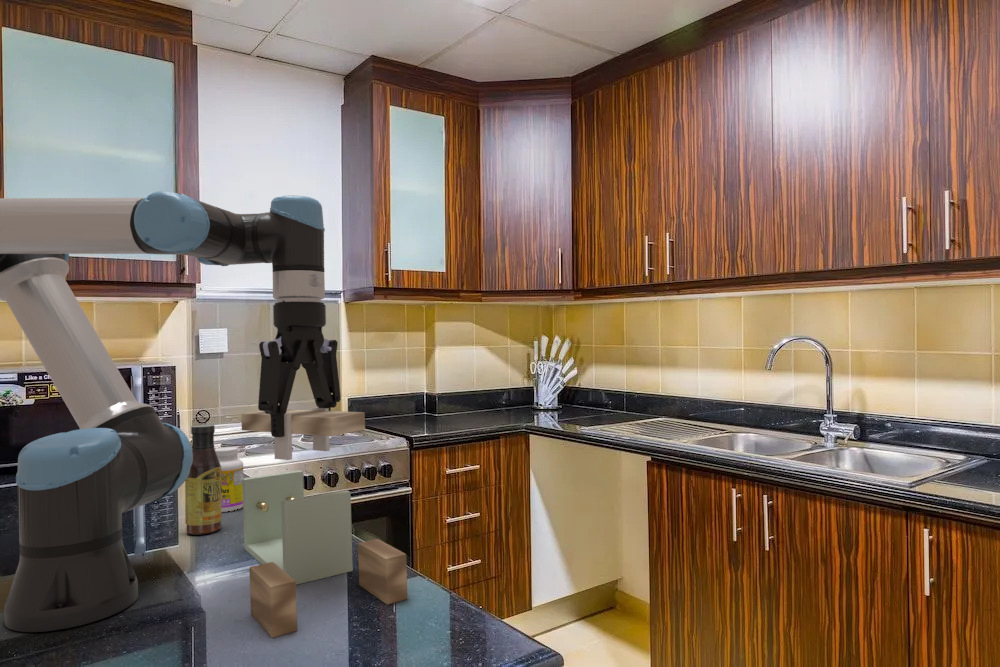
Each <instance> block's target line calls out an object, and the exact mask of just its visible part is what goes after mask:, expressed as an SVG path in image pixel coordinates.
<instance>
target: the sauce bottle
mask: <svg viewBox="0 0 1000 667" xmlns="http://www.w3.org/2000/svg"><path fill="white" fill-rule="evenodd" d="M190 427H191V428H190V429H191V430H190V433H191V436H192V437H191V438H192V442H191V443H192V445H191V447H192V452H193V462H192V465H191V468H190V473H189V475H188V477H187V479H186V480H185V482H184V486H185V487H184V488H185V489H184V490H185V491H184V492H185V493H184V494H185V495H184V496H185V498H184V499H185V500H184V501H185V514H184V515H185V519H184V521H185V524H186V533H187V534H188V535H192V536H194V535H196V536H199V535H207V534H210V533H211V534H212V533H215V532H218V531H219V530H220V529H221V526H222V520H223V518H222V517H223V514H222V513H223V512H222V499H221V497H222V492H221V465H220V462H219V460H218V457H217V455H216V452H215V438H214V437H215V436H214V435H215V431H216V430H215V429H216V427H215V425H214V424H200V425H192V426H190Z"/></svg>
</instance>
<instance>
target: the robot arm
mask: <svg viewBox="0 0 1000 667" xmlns="http://www.w3.org/2000/svg"><path fill="white" fill-rule="evenodd" d="M323 212H324V211H323V206H322V203H321V202H320V201H319V200H317V199H315V198H313V197H310V196H304V195H292V194H291V195H282V196H276V197H274V198H273V199H272V200H271V201H270V208H269V212H261V213H235V212H232V211H229V210H226V209H223V208H221V207H218V206H216V205H215V206H214V205H211V204H209V203H206V202H203V201H201V200H198V199H195V198H193V197H191V196H189V195H186V194H185V193H177V192H172V191H166V190H161V191H155V192H152V193H151V194H149V195H147V196H146V197H43V198H42V197H35V198H33V197H30V198H29V197H28V198H25V197H23V198H22V197H21V198H15V197H14V198H13V197H12V198H10V197H7V198H4V197H3V198H2V197H1V198H0V301H3V302H4V301H5V302H6V304H7V306H8V307H9V309H10V311H11V312H12V314H13V316H14V318H15V319H16V321H17V323H18V325H19V326H20V328H21V330H22V332H23V334H24V335H25V337H26V339H27V340H28V342H29V343H30V345H31V347H32V349H33V350H34V352H35V354H36V356H37V357H38V360H40V363H41V364H42V366H43V367H44V370H45V371H46V373H47V374H48V376H49V378H50V380H51V382H52V383H53V385H54V386H55V388H56V390H57V391H58V393H59V395H60V397H61V399H62V401H63V402H64V403H65V406H66V407H67V408H68V410H69V412H70V414H71V416H72V417H73V419H74V421H75V423H76V424H77V426H78V427H79V429H73V430H70V431H67V432H58V433H55V434H54V433H53V434H50V435H46V436H44V437H41V438H38V439H35V440H33V441H31V442H29V443H27V444H26V445H25V446H24V447H22V449H21V450H20V451H19V453H18V457H17V472H16V475H15V483H16V492H17V496H16V497H17V512H18V513H17V516H18V541H19V561H18V565H17V568H16V570H15V574H14V577H13V580H12V583H11V586H10V587H9V588H10V589H9V592H8V595H7V598H6V600H5V603H4V608H3V610H4V611H3V612H4V614H3V615H4V626H5V627H6V628H7V629H8V630H11V631H15V632H21V633H42V632H51V631H52V632H53V631H59V630H65V629H70V628H75V627H79V626H83V625H87V624H91V623H94V622H96V621H100V620H103V619H106V618H109V617H111V616H113V615H116V614H118V613H120V612H122V611H123V610H125V609H127V608H129V607H130V606H131V605H133V604H134V603H135V602H136V601H137V600H138V598H139V580H138V577H137V574H136V572H135V570H134V567H133V565H132V563H131V560H130V557H129V555H128V553H127V551H126V548H125V546H124V542H123V520H122V519H123V518H122V517H123V516H122V515H123V514H124V513H126V512H129V511H132V510H134V509H137V508H140V507H142V506H144V505H147V504H151V503H156V502H158V501H160V500H162V499H164V498H165V497H166V496H169V495H170V494H173V493H174V492H175V491H177V490H178V489H179V488H181V486H183V484H185V480H186V479H187V477H188V475H189V473H190V468H191V465H192V462H193V452H192V444H191V441H190V439H189V437H188V435H187V434H186V433H185V432H184V431H183V430H182V429H180V428H179V427H178V426H176V425H172V424H170V423H167V422H162V420H161V419H160V417H159V415H158V414H157V412H156V410H155V409H154V407H153V406H152V405H151V404H148V403H143V402H139V401H137V399H136V398H135V396H134V395H133V393H132V391H131V388H129V385H128V383H127V382H126V381H125V379H124V378H123V376H122V374H121V372H120V370H119V369H118V367H117V365H116V363H115V361H114V360H113V359H112V357H111V355H110V354H109V352H108V350H107V349H106V346H105V345H104V343H103V342H102V340H101V338H100V336H99V335H98V333H97V331H96V330H95V328H94V326H93V325H92V323H91V322H90V320H89V318H88V316H87V314H86V313H85V311H84V309H83V308H82V306H81V305H80V303H79V300H78V299H77V298H76V296H75V294H74V293H73V290H72V289H71V287H70V285H69V284H68V282H67V281H66V277H67V275H68V273H69V271H70V265H69V263H68V262H69V257H70V254H71V255H72V254H74V255H77V254H78V255H79V254H81V255H85V254H86V255H87V254H89V255H97V254H98V255H99V254H101V255H111V254H112V255H113V254H114V255H116V254H117V255H118V254H119V255H124V254H125V255H130V254H131V255H132V254H133V255H139V254H141V255H146V254H147V255H182V256H190V257H194V258H196V259H197V261H198V262H199V263H201V264H202V265H207V266H220V267H228V266H231V265H232V266H233V265H249V264H271V265H272V266H271V267H272V268H271V269H272V298H273V300H276V302H275V303H274V305H272V307H273V308H272V309H273V317H272V318H273V326H274V327H275V328H276V329H277V333H276V336H275V338H274V339H273V340H269V341H268V340H267V341H260V343H259V344H258V347H259V352H260V356H261V361H260V362H261V364H260V373H259V374H260V376H259V387H258V388H259V389H258V403H257V408H258V411H265V413H266V414H270V415H271V432H270V434H271V437H273V441H274V442H273V443H274V444H273V445H274V447H273V448H274V449H273V450H274V460H281V461H282V460H285V461H291V460H292V459H293V440H292V437H293V436H292V433H291V414H285V413H286V411H287V409H288V407H289V403H290V400H291V394H292V392H293V388H294V387H293V386H294V384H295V383H294V382H295V379H296V375H297V372H298V370H299V369H301V368H300V367H302V368H303V369H304V370H305V373H306V376H307V380H308V384H309V386H310V389H311V393H312V395H313V399H314V403H315V406H316V407H312V408H311V410H320V411H332V409H334V408H336V407H337V403H339V402H340V401H341V399H342V398H341V388H340V379H339V369H338V360H337V359H338V358H337V352H338V341H337V340H336V339H327V338H325V337H324V333H323V327H325V326H326V324H327V318H326V317H327V315H326V314H327V312H326V310H327V309H326V304H325V303H324V302H321V301H322V300H324V299H325V298H326V287H325V283H326V282H325V231H326V230H325V227H324V225H325V224H324V213H323ZM330 447H331V446H330V436H322V435H312V450H313V451H319V452H329V451H330V450H331V448H330Z"/></svg>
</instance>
